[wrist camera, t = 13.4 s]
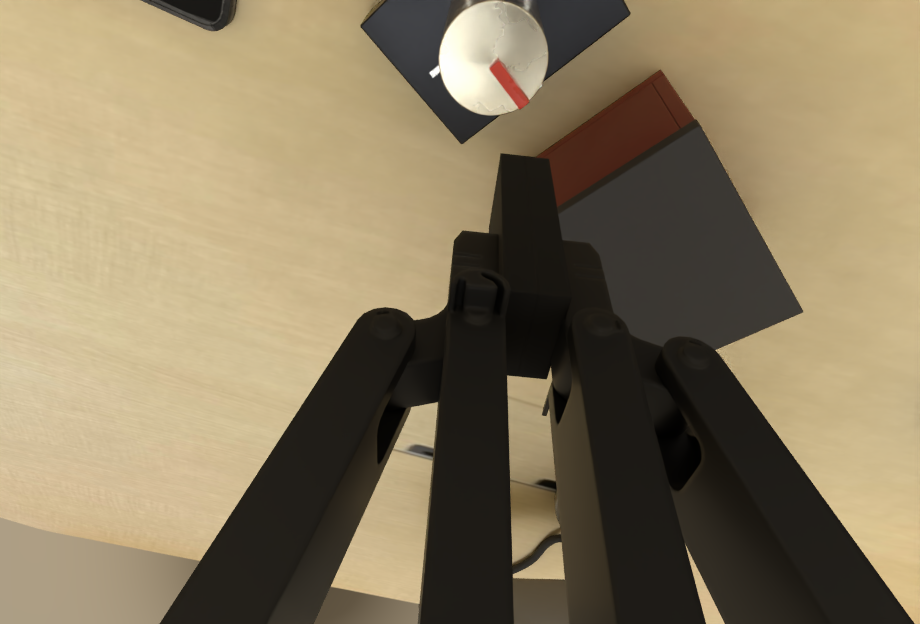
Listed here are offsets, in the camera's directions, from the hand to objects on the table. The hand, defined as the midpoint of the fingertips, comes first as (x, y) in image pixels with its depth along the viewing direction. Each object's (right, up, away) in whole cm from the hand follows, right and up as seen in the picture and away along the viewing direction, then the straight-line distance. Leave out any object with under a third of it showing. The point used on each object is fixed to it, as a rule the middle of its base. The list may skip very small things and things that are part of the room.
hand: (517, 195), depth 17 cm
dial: (0, +12, +13) cm, 18 cm away
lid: (+10, -1, +16) cm, 19 cm away
